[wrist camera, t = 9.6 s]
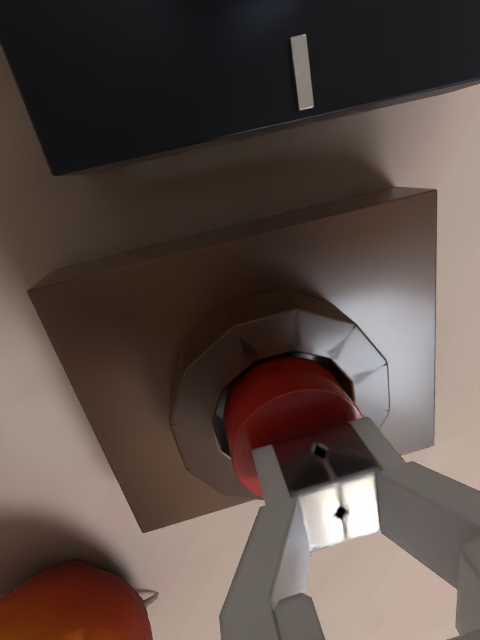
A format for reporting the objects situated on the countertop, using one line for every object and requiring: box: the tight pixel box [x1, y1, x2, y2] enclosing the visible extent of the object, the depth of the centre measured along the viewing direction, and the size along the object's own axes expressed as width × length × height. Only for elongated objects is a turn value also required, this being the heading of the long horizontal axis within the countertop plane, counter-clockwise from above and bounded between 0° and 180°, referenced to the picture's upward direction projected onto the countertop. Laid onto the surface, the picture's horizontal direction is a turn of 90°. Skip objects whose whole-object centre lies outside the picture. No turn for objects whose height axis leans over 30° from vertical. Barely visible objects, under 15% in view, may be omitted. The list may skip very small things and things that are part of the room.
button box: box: [27, 187, 437, 533], centre depth 12 cm, size 12×10×4 cm
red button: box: [223, 356, 363, 498], centre depth 10 cm, size 4×4×2 cm
